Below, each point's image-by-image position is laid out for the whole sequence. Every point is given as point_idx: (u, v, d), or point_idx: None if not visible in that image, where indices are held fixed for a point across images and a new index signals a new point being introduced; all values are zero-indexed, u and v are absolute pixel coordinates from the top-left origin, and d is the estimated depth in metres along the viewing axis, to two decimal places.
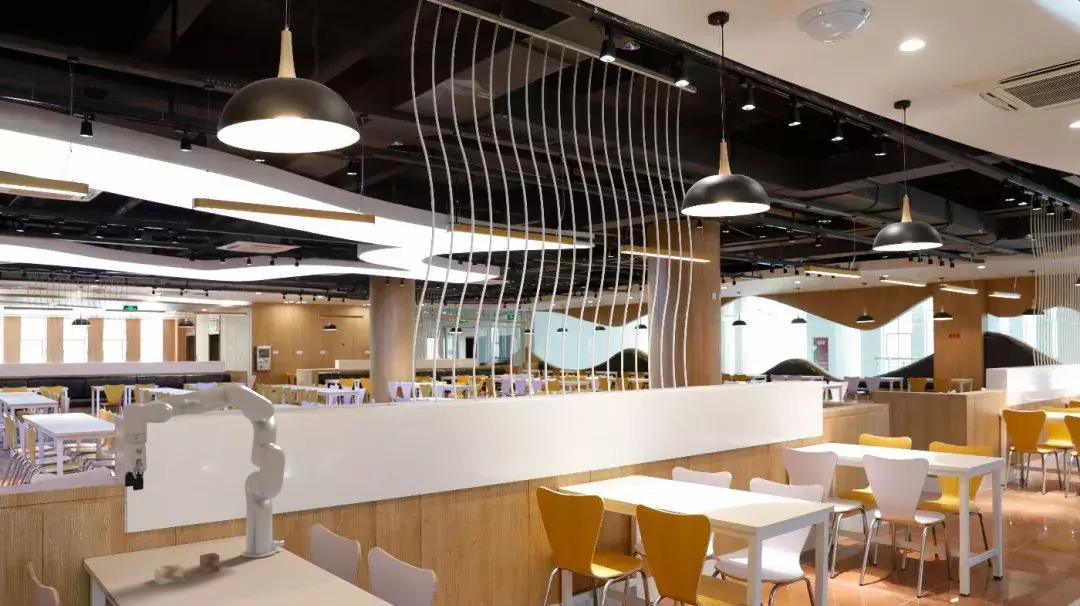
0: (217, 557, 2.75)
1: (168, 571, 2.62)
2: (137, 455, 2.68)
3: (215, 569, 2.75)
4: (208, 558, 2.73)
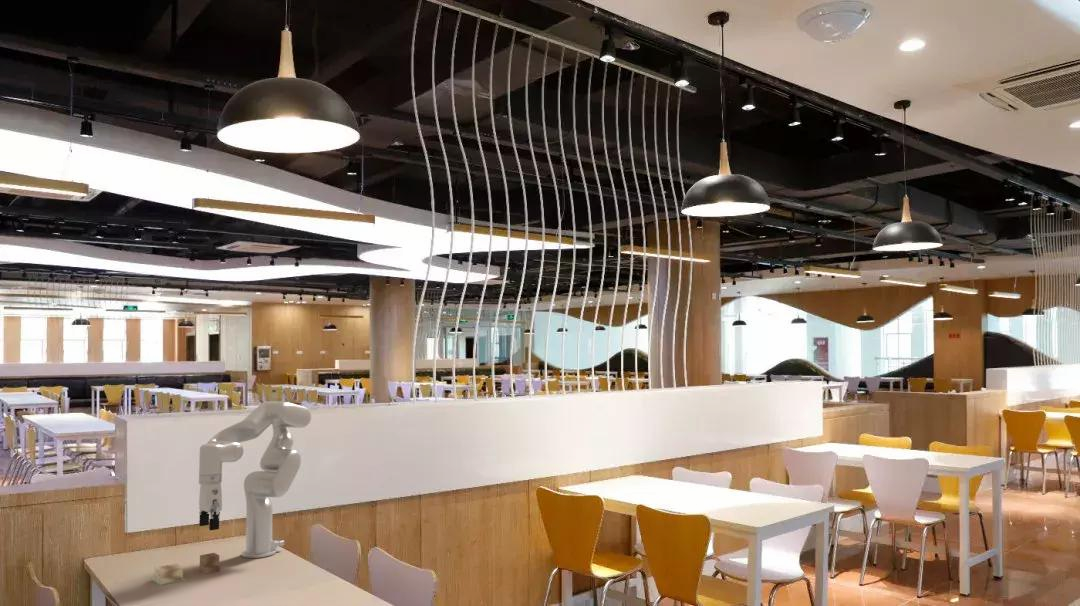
0: (217, 557, 2.75)
1: (168, 571, 2.62)
2: (213, 495, 2.73)
3: (215, 569, 2.75)
4: (208, 558, 2.73)
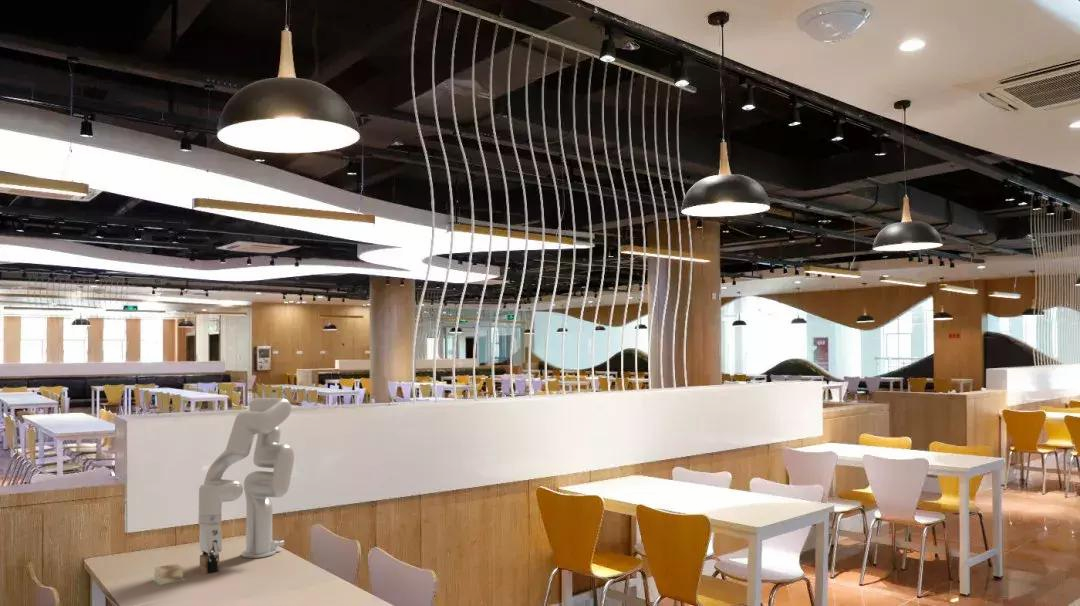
0: (217, 557, 2.75)
1: (168, 571, 2.62)
2: (213, 536, 2.73)
3: None
4: None
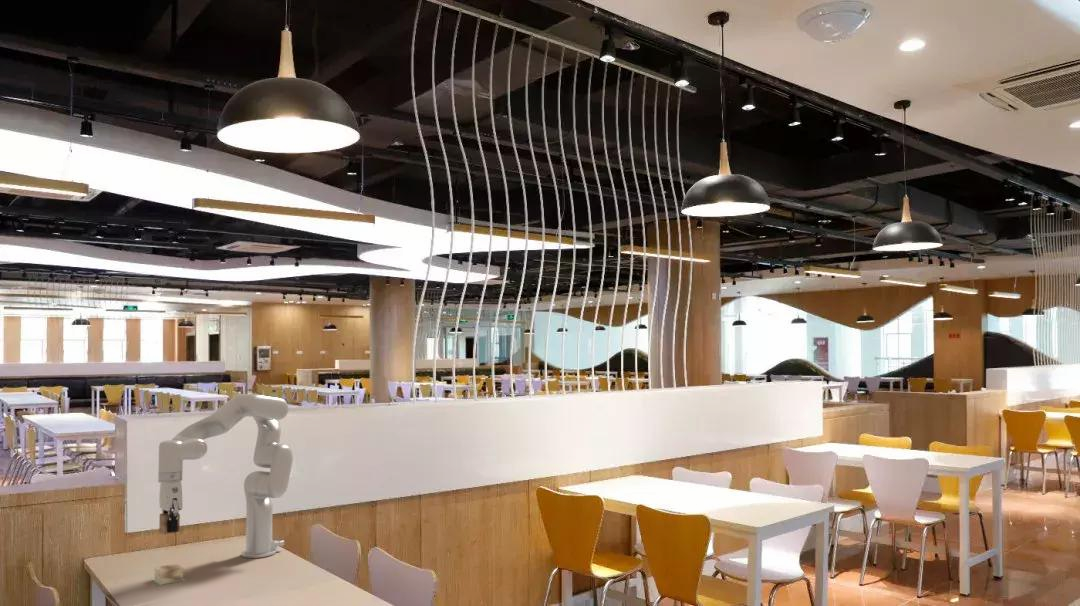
0: None
1: (168, 571, 2.62)
2: (173, 494, 2.63)
3: None
4: None
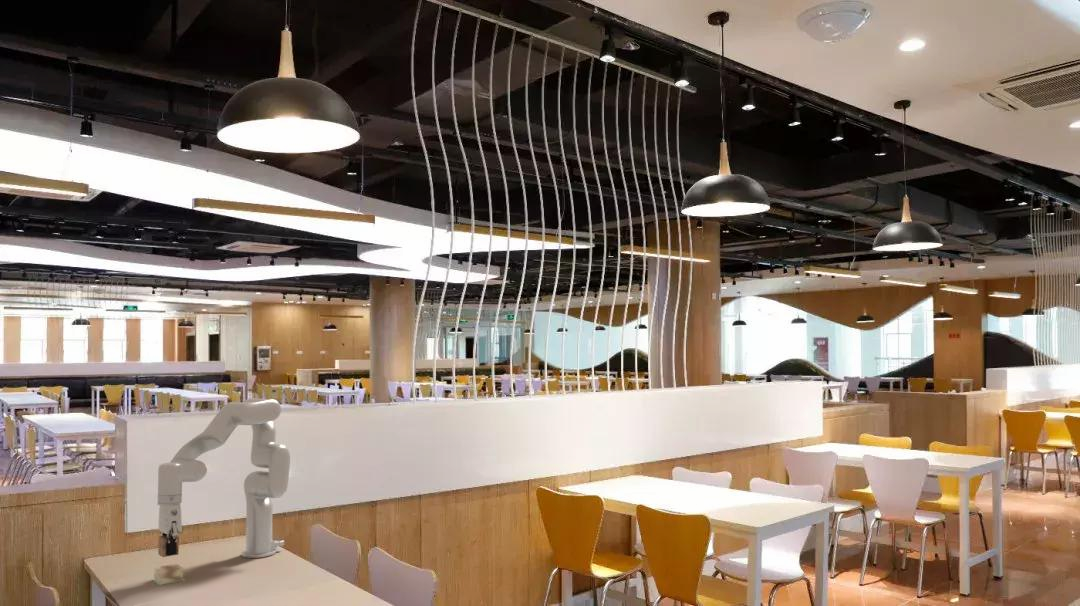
0: None
1: (168, 571, 2.62)
2: (172, 517, 2.63)
3: None
4: None
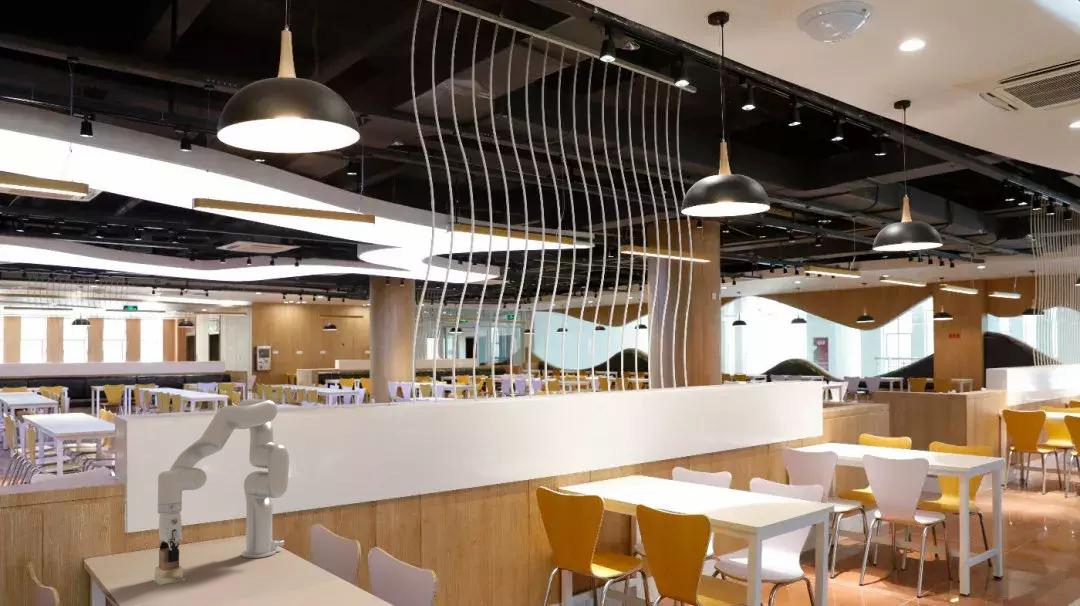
0: None
1: (168, 571, 2.62)
2: (172, 525, 2.63)
3: (175, 564, 2.65)
4: (167, 553, 2.63)
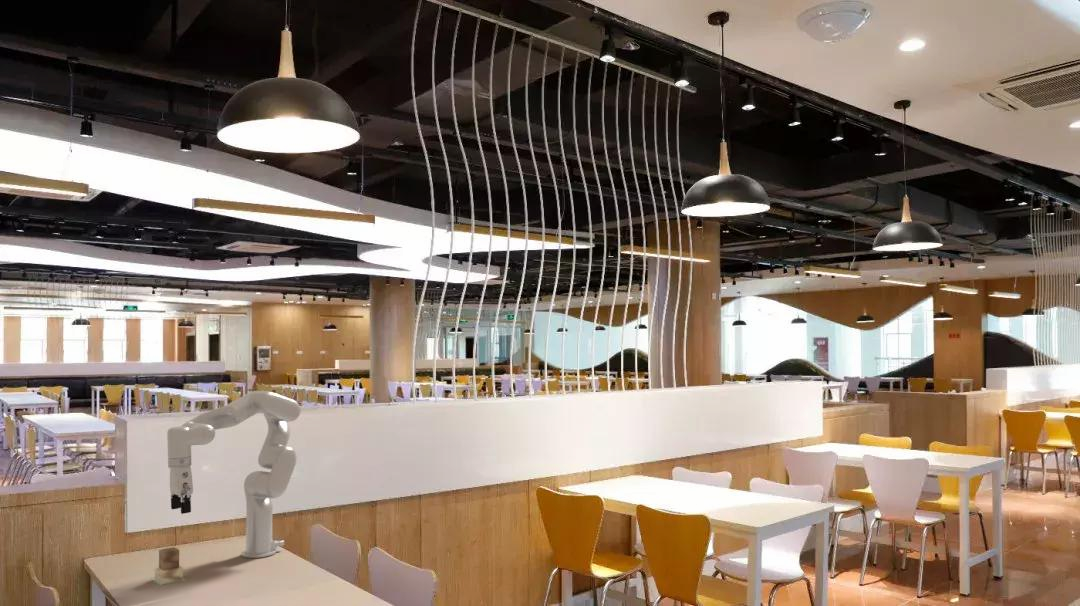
0: (177, 552, 2.65)
1: (168, 571, 2.62)
2: (183, 479, 2.70)
3: (175, 564, 2.65)
4: (167, 553, 2.63)
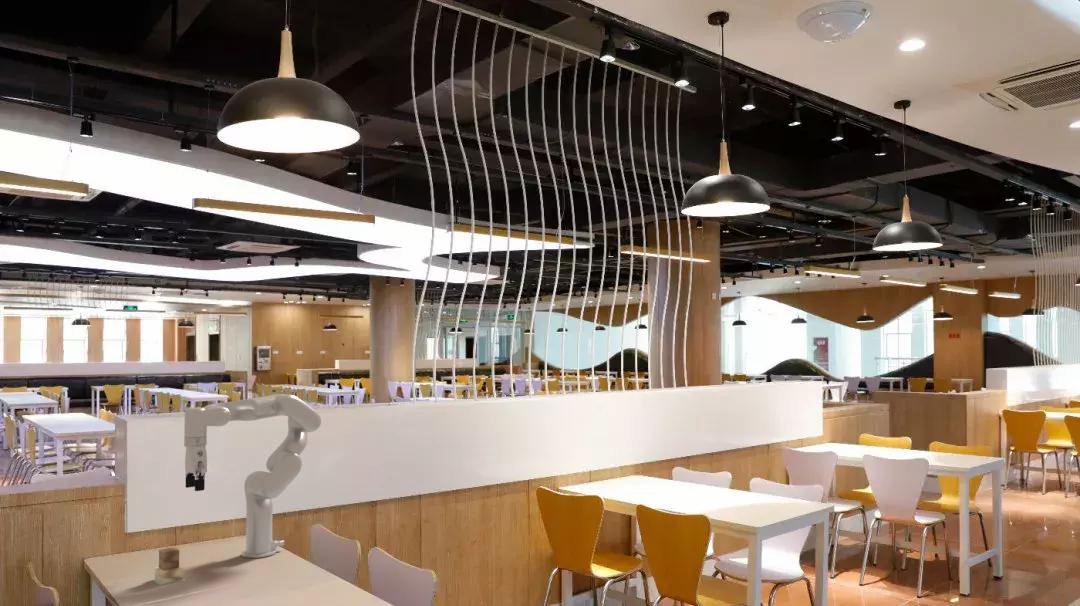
0: (177, 552, 2.65)
1: (168, 571, 2.62)
2: (198, 457, 2.80)
3: (175, 564, 2.65)
4: (167, 553, 2.63)
